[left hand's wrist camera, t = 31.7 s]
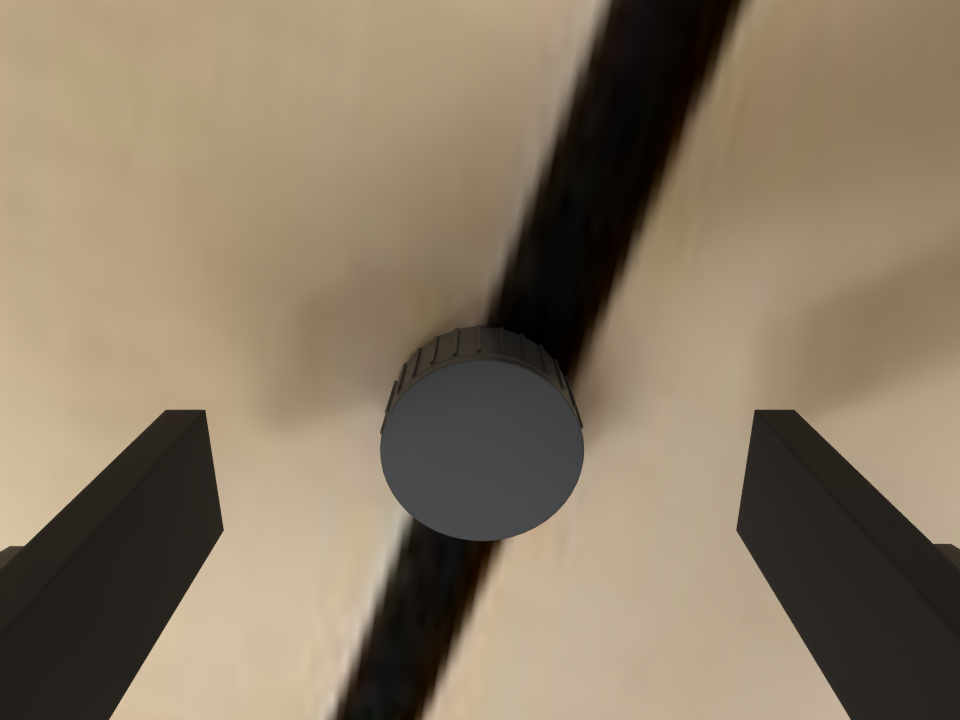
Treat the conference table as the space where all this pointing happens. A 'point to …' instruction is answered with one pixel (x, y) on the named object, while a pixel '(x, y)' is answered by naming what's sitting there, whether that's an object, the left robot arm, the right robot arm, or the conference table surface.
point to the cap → (482, 435)
